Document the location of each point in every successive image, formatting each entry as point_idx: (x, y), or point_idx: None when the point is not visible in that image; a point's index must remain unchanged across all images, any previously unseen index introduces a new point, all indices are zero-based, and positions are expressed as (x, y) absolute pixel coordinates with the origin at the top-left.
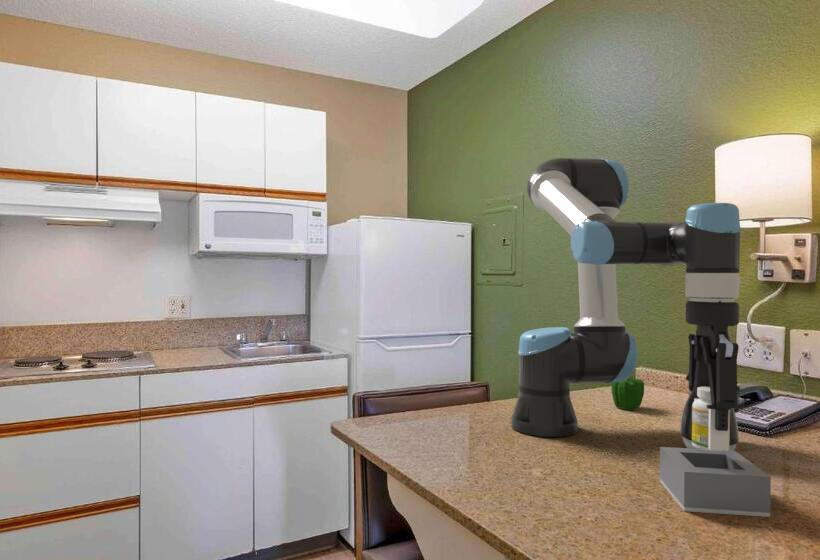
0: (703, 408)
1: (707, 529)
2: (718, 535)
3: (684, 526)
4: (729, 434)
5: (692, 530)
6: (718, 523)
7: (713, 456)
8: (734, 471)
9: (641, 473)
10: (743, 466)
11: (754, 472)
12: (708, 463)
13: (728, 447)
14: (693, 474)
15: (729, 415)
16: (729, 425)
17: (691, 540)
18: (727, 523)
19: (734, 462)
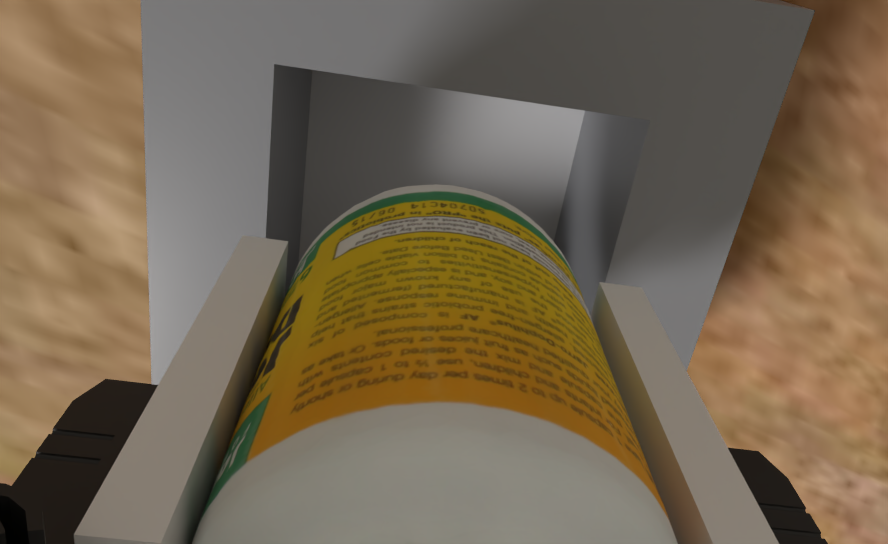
0: None
1: (770, 358)
2: (827, 343)
3: (729, 428)
4: (552, 280)
5: (766, 415)
6: (727, 287)
7: (275, 153)
8: (668, 220)
9: (110, 367)
10: (576, 89)
11: (709, 82)
12: (281, 167)
13: (649, 307)
14: None
15: (609, 423)
16: (575, 338)
17: (839, 452)
18: (734, 248)
19: (454, 88)
